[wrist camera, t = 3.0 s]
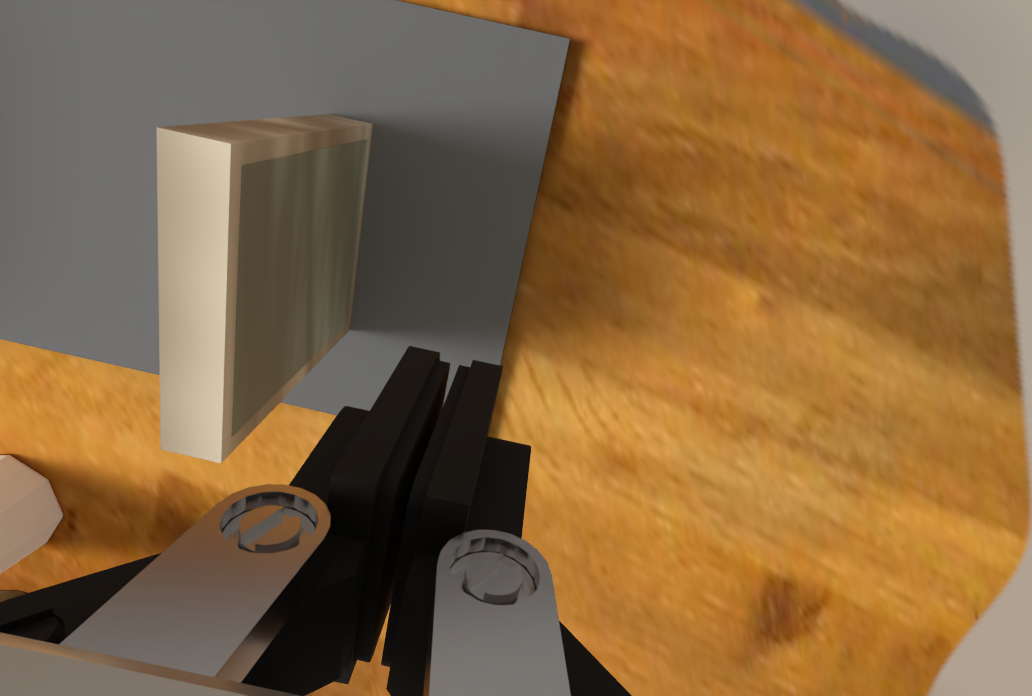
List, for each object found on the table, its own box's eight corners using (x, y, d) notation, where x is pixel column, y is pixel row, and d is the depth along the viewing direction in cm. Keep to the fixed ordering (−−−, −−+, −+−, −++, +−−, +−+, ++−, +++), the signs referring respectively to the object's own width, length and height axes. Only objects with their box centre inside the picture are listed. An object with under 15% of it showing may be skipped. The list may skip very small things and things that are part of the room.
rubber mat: (570, 39, 21) (569, 38, 21) (484, 442, 28) (482, 447, 27) (-120, -113, 22) (-135, -118, 21) (-55, 320, 28) (-65, 324, 27)
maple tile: (373, 123, 23) (231, 144, 13) (350, 330, 26) (221, 463, 16) (329, 113, 23) (156, 127, 13) (311, 321, 26) (160, 449, 16)
